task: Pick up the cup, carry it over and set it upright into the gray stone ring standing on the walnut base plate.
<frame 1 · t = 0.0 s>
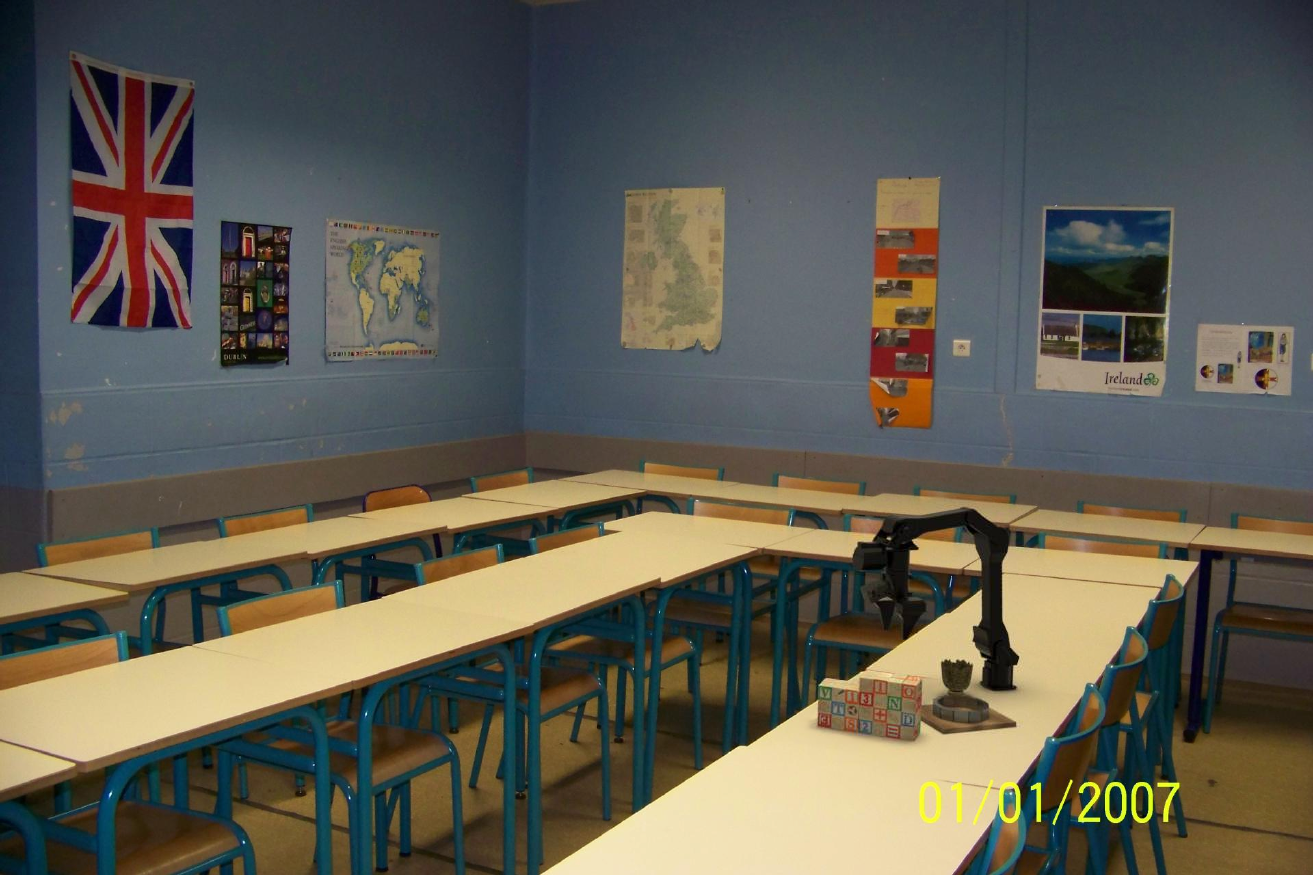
hand: (895, 634, 278), 15 cm above the table, fingers open, 9 cm apart
gray stone ring: (960, 708, 262), on the base plate, point 2 cm above the table
stack of blocks: (868, 730, 255), on the table
base plate: (960, 718, 263), on the table
cup: (955, 696, 279), on the table
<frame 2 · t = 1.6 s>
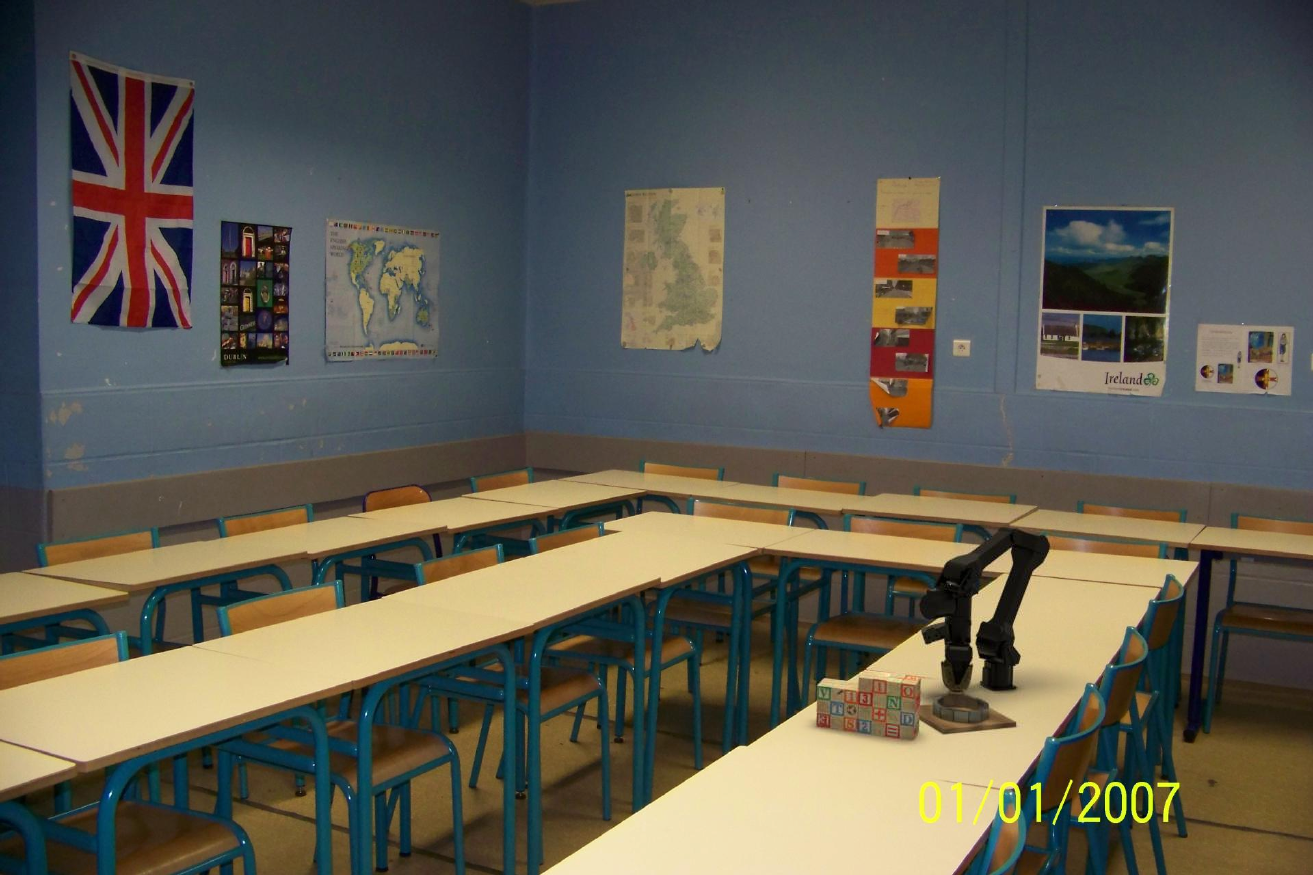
hand: (956, 678, 279), 4 cm above the table, fingers open, 9 cm apart
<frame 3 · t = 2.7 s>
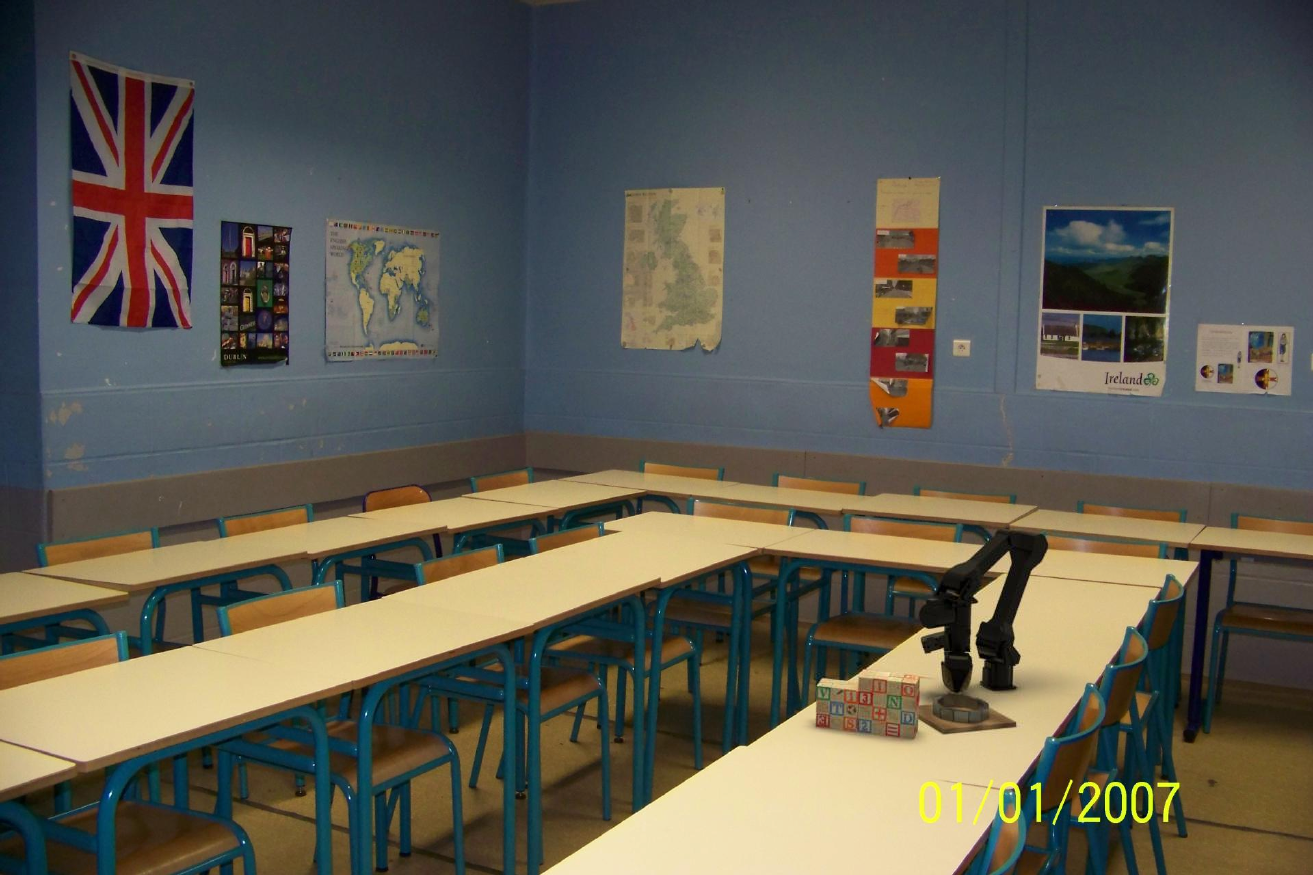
hand: (956, 688, 279), 2 cm above the table, fingers closed on cup, 6 cm apart
cup: (955, 696, 279), on the table, touching gripper
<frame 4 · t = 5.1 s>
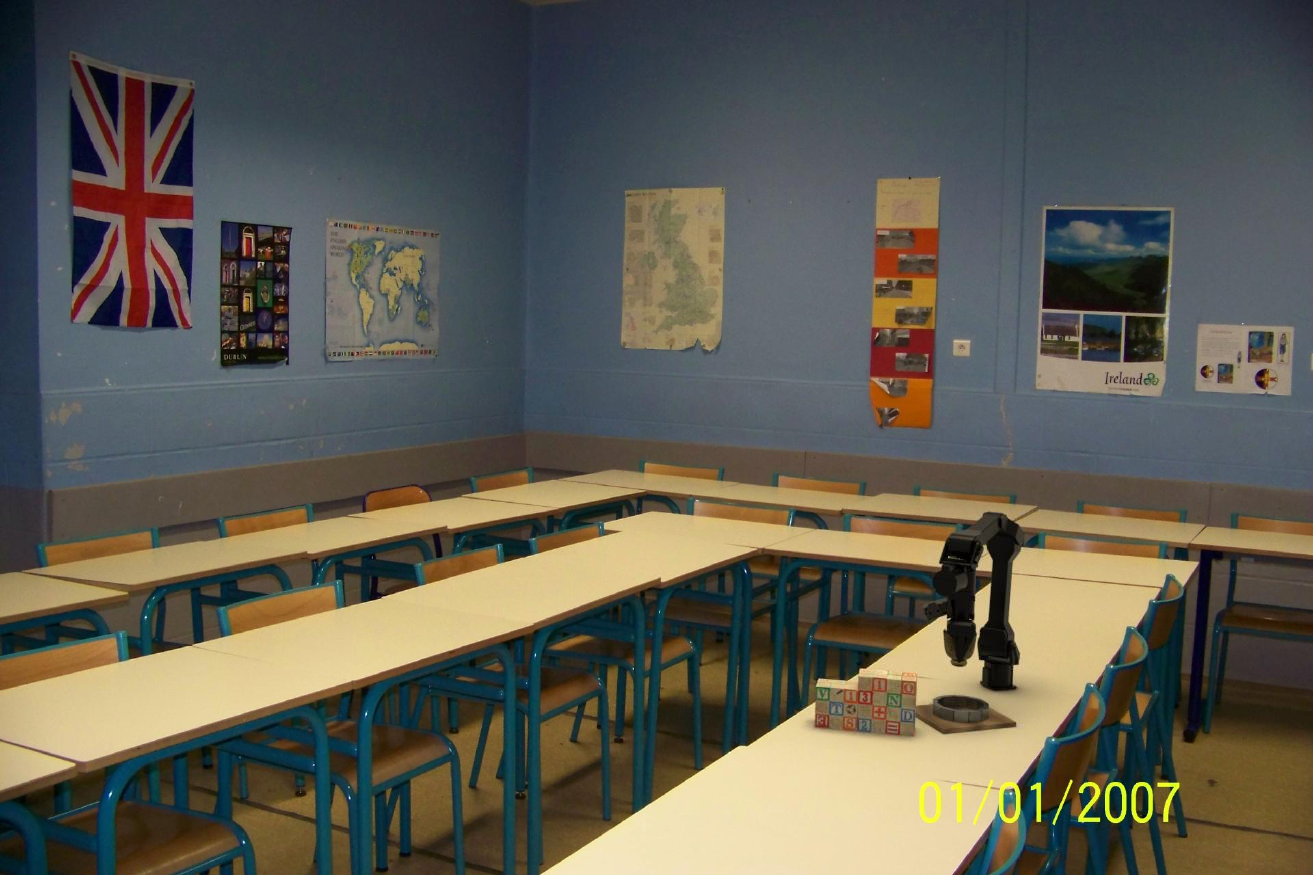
hand: (959, 657, 266), 12 cm above the table, fingers closed on cup, 6 cm apart
cup: (958, 666, 266), point 10 cm above the table, touching gripper
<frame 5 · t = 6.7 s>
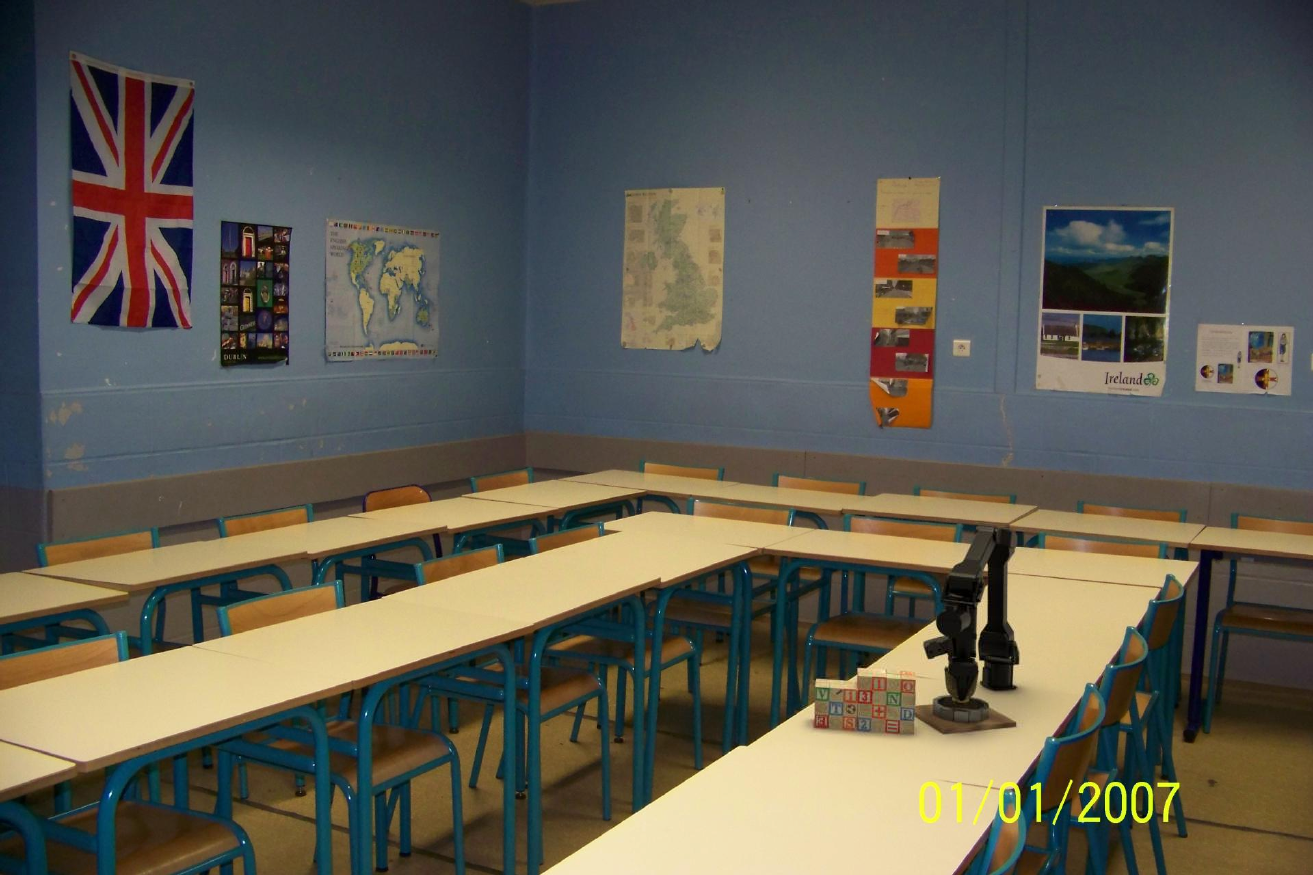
hand: (961, 695, 262), 5 cm above the table, fingers closed on cup, 6 cm apart
cup: (960, 704, 262), point 3 cm above the table, touching gripper
when the fingers open (4 cm above the table, at t = 7.8 s): cup drops 2 cm, resting on base plate.
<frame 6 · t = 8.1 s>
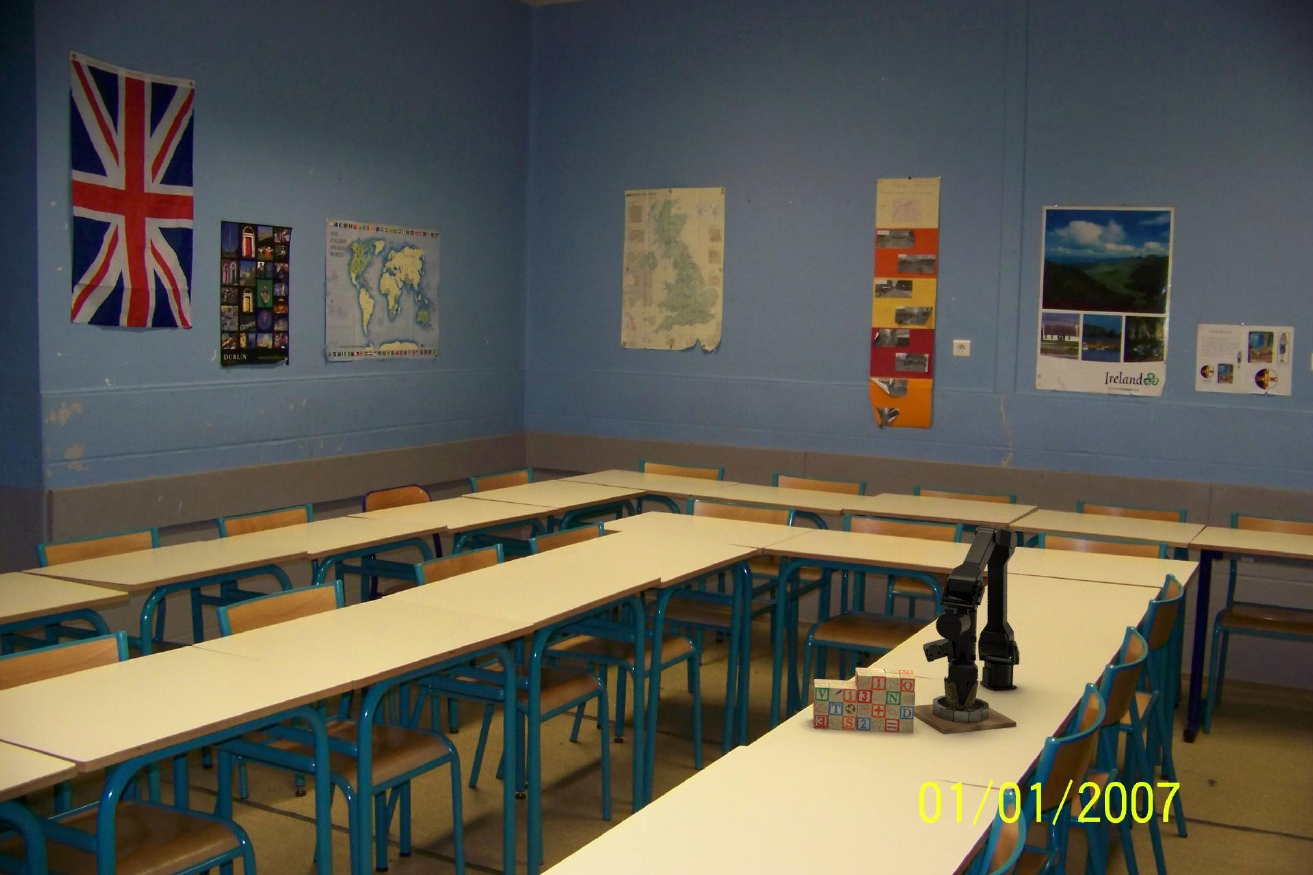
hand: (960, 698, 262), 4 cm above the table, fingers open, 9 cm apart
cup: (959, 714, 263), point 1 cm above the table, touching base plate
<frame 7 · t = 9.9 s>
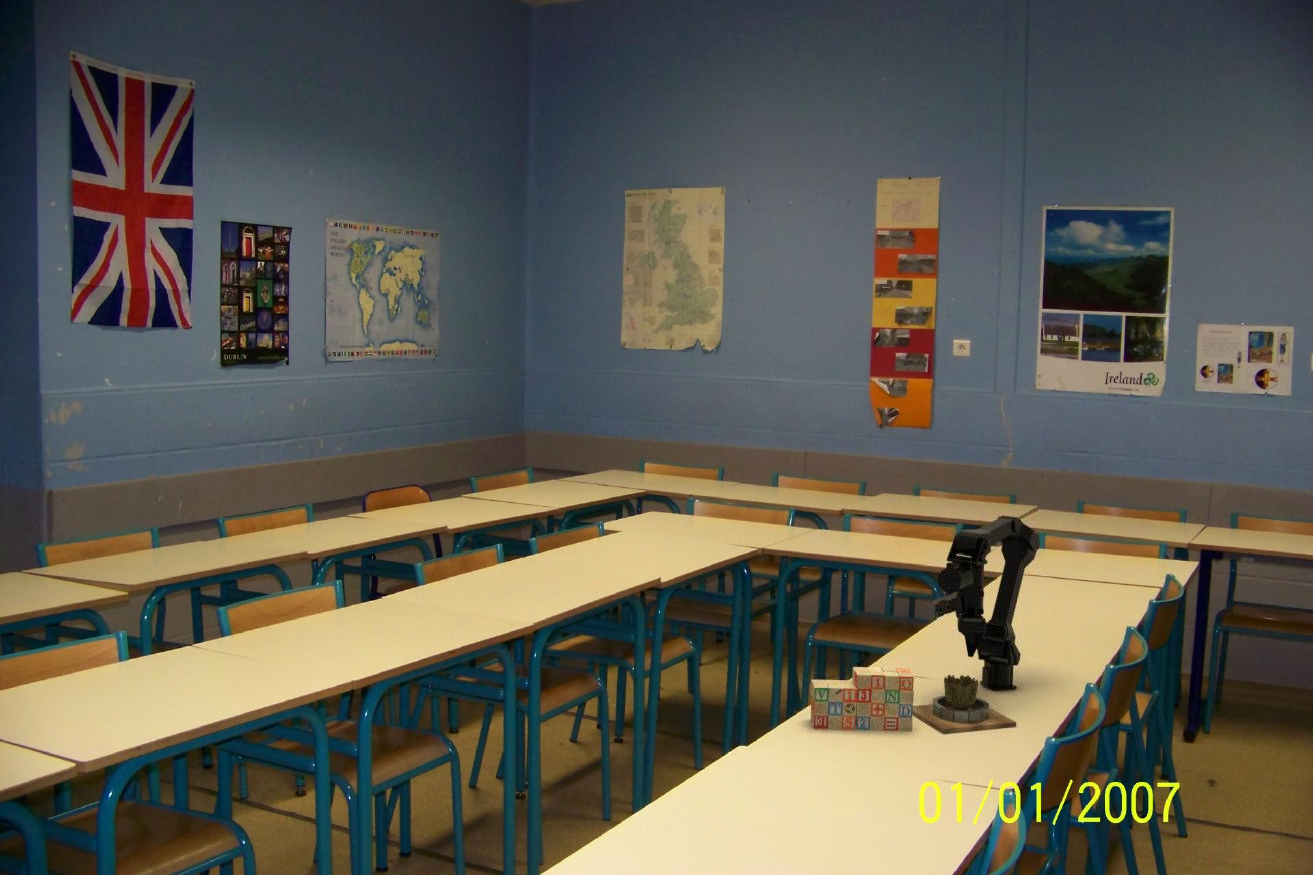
hand: (969, 651, 275), 12 cm above the table, fingers open, 9 cm apart
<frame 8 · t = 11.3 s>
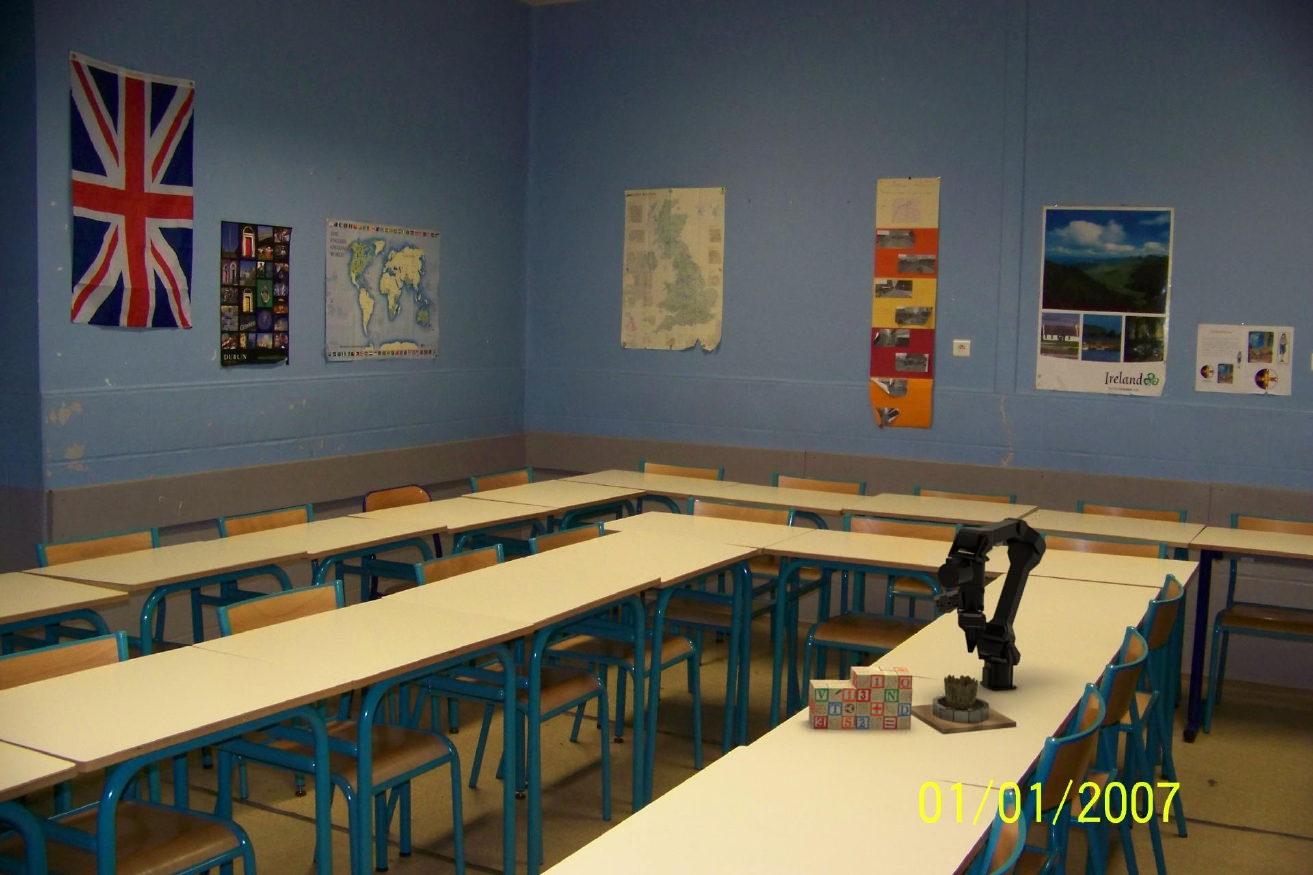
hand: (969, 647, 277), 12 cm above the table, fingers open, 9 cm apart
at the end: cup 0.1 cm off-centre on the gray stone ring, point 0.8 cm above the gray stone ring's base; cup tilted 0°; the gripper is holding nothing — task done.
